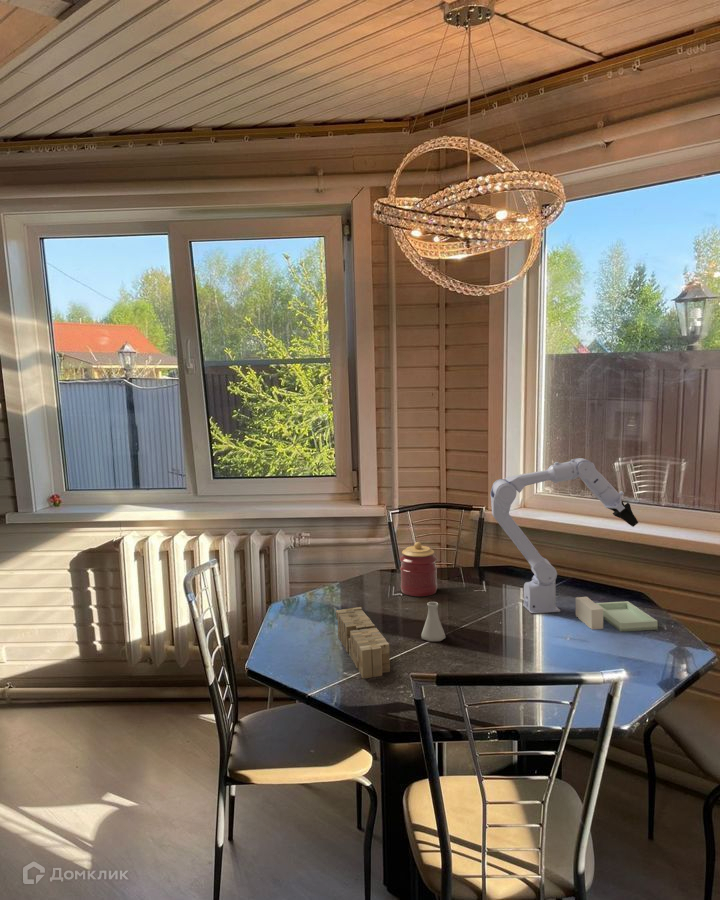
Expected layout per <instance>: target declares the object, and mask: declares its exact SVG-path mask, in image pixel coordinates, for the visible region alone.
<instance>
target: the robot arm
mask: <svg viewBox="0 0 720 900" xmlns="http://www.w3.org/2000/svg"><path fill="white" fill-rule="evenodd" d="M577 478H580V479H581V481H582V482H583V483H584V485H585V486H586V487H587V488H588V489H589V490H590V492H591V493H593V495H594V496H595V497H596V498H597V499H598V500H599V502H600V503H602V505H603V506H604V508H606V509H609V510H611V511H613V513H612V515H613V516H614V517H617V518H619V519H621V520H622V521H625V523H626V524H628V525H630V526H631V527H633V528H634V527H635V526H636V525H638V524H639V521H638V519H637V518H636V516H635V515H634V513H633V512H634V511H633V510H632V508H631V504H630V503H629V502H626V504H625V503H624V501H623V496H624V494H625V492H624V491H622V490H620V491H619V492H618V490H616V488H614V486H613V485H612V484H611V483H610V482H609V480H607V478H605V477H604V476H603V474H602V473H601V472H599V470H598V469H597V468H596V465H595V463H594V462H592V461H591V460H589V459H586V458H583V457H582V458H581V457H580V458H578V457H576V458H572V459H570V461H564V462H559V461H556V462H554V463H553V464H551V465H550V466H549V467H548V468H547V469H545V470H540V471H532V472H528V473H527V472H526V473H520V474H516V475H511V476H510V475H509V476H507V477H504V478H500V479H496V480H495V481H494V482H493V483H492V487H491V490H490V493H489V494H490V504H491V515H492V517H493V519H495V521H496V522H497V523H498V525H499V526H500V527H501V529H502V530H503V531H504V532H505V534H506V535H507V537H509V539H510V540H511V541H512V543H513V544H514V546H515V547H516V548H517V549H518V551H519V552H520V553H521V554H522V556H523V557H524V558H525V560H526V561H527V562H528V564H529V567H530V570H531V572H532V573H533V574H534V575H533V576H532V577H531V581H526V582H525V583H524V584H523V604H522V607H524V608H525V609H526V610H527V611H528V612H529V613H531V614H545V613H547V614H548V613H560V612H561V609H560V608H558V606H556V580H557V578H558V577H557V576H558V572H557V568H555V566H553V565H552V564H551V562H550V561H549V559H547V558H545V557H543V556H542V555H541V554H540V553H539V551H538V549H537V548H536V547H535V546H534V545H533V543H532V542H531V541H530V539H529V538H528V536H526V534H525V533H524V531H523V530H522V529H521V528H520V526H519V525H518V524H517V523H516V521H515V520H514V518H513V517H512V516H511V515H510V511H511V506H512V504H513V502H514V501H515V499H516V498H517V492H518V493H519V494H520V493H521V492H522V491H523V489H524V488H525V487H526V486H530V485H535V484H538V483H543V482H547V481H551V482H552V483H553V484H558V483H563V482H567V481H573V480H575V479H577Z"/></svg>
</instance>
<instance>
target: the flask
mask: <svg viewBox="0 0 720 900" xmlns="http://www.w3.org/2000/svg"><path fill="white" fill-rule="evenodd" d="M426 604H427V607H428V609H427V610H428V611H427V617H426V620H425V622H424V625H423V629H422V632H421V634H420V636H421V637H420V638H421V640H425V641H427V642H441V641H443V640H444V639H446V638H447V637H446V634H445V631H444V628H443V626H442V622H441V619H440V617H439V612H438V607H439V602H437V601H429V602H426Z"/></svg>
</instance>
